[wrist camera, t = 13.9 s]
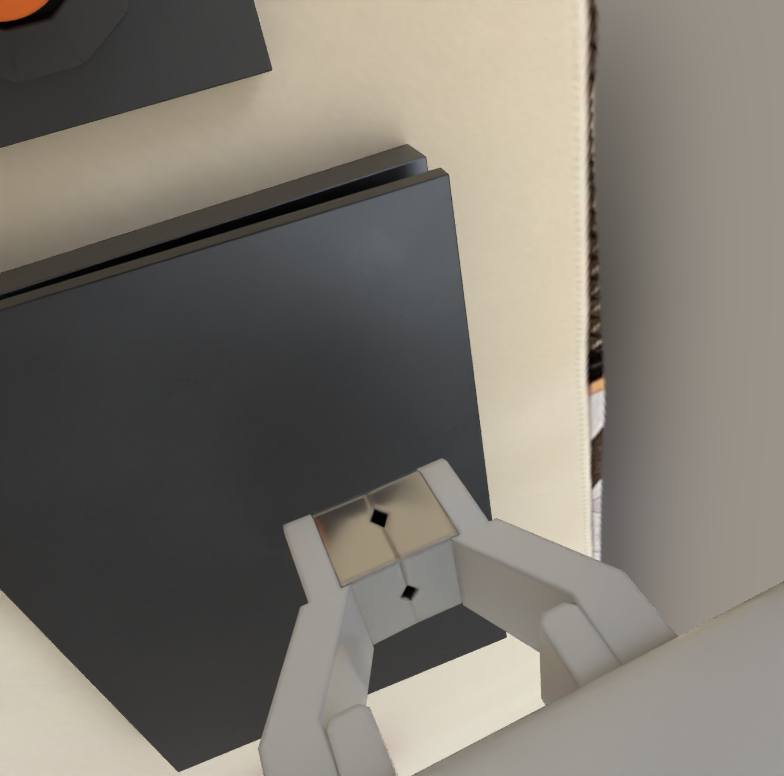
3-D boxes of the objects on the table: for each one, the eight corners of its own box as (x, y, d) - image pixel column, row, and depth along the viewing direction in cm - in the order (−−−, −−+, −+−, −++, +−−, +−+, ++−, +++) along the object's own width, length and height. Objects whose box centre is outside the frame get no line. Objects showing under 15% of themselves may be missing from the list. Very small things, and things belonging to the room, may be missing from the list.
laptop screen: (439, 165, 23) (449, 173, 22) (500, 625, 41) (507, 637, 41) (-199, 357, 20) (-211, 374, 19) (177, 757, 39) (178, 772, 38)
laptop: (407, 143, 25) (427, 156, 23) (479, 588, 44) (492, 610, 42) (-180, 329, 21) (-199, 359, 20) (174, 728, 40) (177, 758, 38)
